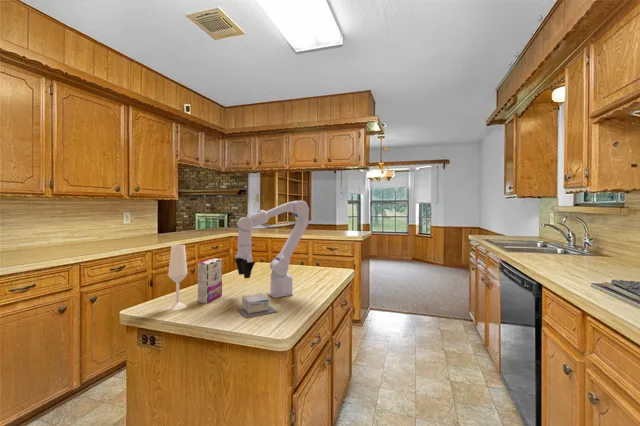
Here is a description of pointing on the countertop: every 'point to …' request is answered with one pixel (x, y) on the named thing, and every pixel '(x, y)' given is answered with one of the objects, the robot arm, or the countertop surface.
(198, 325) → the countertop surface
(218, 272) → the candy bar box
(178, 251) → the champagne flute
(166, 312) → the countertop surface
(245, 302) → the medicine box
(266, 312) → the slate mat
